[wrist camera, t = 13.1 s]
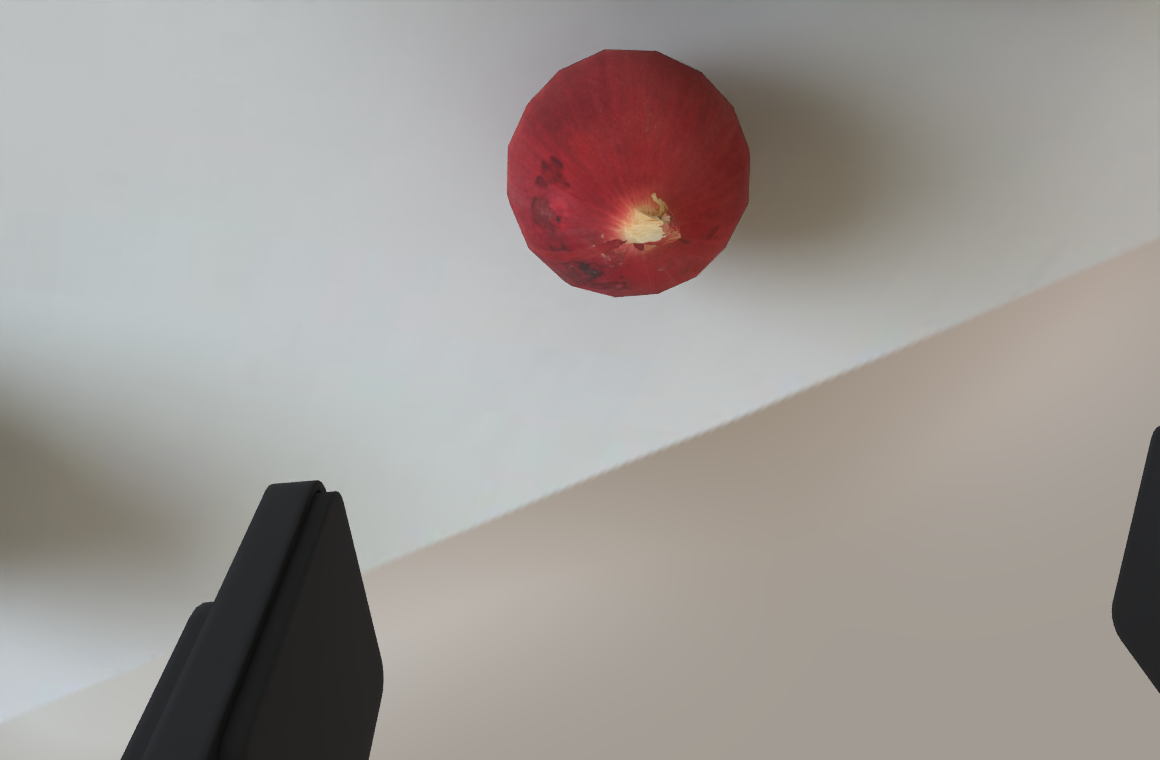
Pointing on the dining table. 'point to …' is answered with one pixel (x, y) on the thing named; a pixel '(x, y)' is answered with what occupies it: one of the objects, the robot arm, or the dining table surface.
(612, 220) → the onion
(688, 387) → the dining table surface
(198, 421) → the dining table surface
